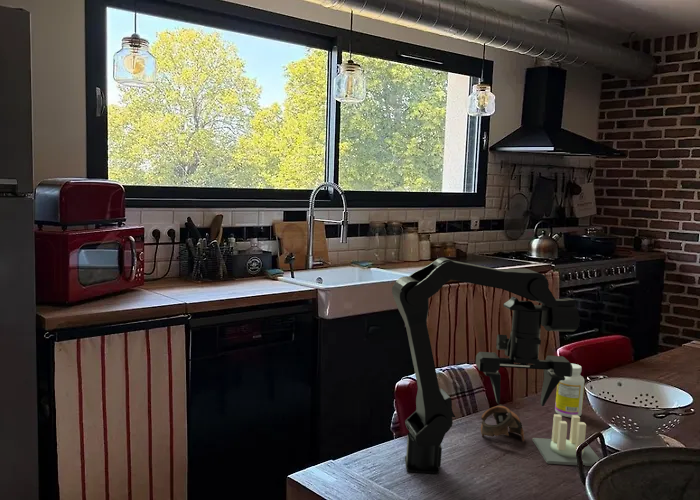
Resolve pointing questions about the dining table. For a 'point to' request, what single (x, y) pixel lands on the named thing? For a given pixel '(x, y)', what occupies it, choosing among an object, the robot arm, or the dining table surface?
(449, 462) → the dining table surface
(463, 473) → the dining table surface
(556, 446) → the stool
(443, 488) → the dining table surface
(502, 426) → the brown curved piece
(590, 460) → the mat
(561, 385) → the supplement bottle
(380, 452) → the dining table surface
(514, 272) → the robot arm
